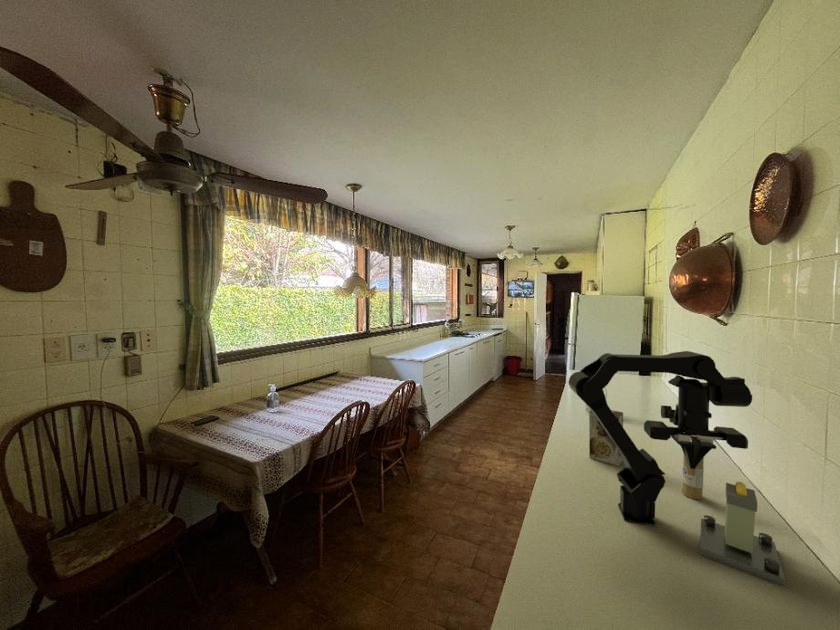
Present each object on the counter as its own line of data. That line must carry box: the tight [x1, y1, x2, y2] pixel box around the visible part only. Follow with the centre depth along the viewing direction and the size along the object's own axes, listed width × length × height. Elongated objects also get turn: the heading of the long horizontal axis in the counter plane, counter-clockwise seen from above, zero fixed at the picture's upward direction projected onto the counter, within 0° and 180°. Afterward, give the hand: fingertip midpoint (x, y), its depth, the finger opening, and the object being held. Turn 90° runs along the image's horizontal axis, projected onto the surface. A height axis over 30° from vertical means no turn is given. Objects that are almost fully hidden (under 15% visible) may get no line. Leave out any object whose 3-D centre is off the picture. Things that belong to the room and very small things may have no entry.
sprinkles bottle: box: [681, 452, 706, 500], centre depth 90 cm, size 5×5×14 cm
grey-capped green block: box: [724, 481, 758, 554], centre depth 70 cm, size 4×5×12 cm
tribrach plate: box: [700, 514, 785, 587], centre depth 70 cm, size 12×12×3 cm
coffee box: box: [588, 409, 624, 467], centre depth 111 cm, size 9×6×16 cm
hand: (691, 468), depth 80 cm, fingers closed
